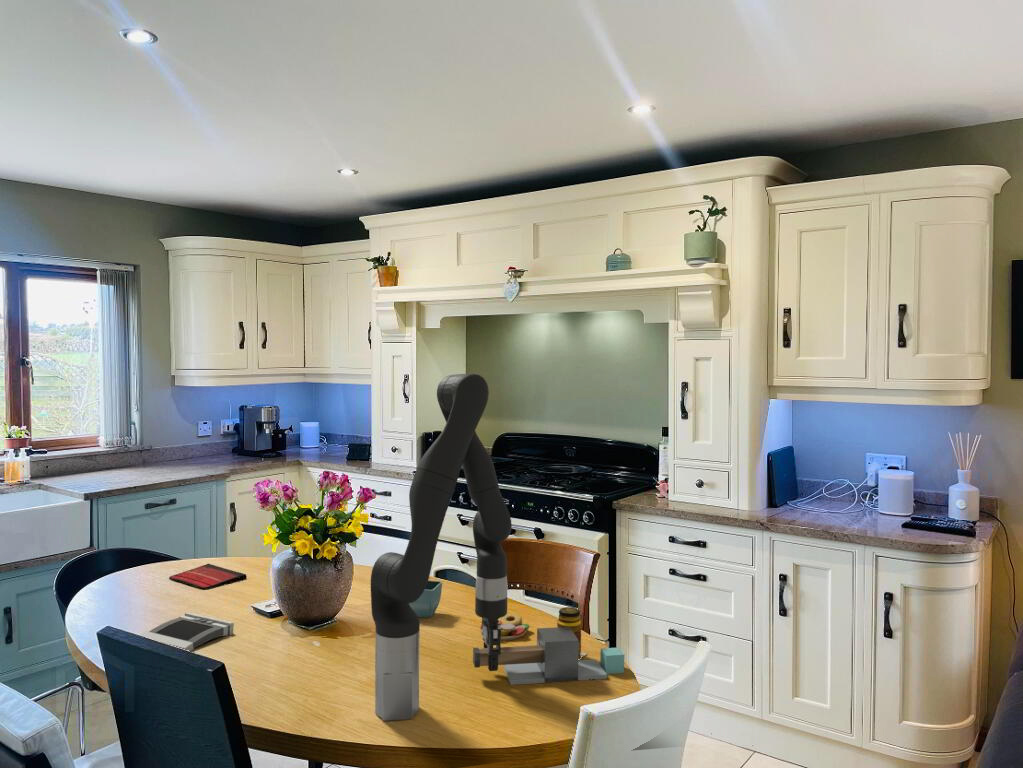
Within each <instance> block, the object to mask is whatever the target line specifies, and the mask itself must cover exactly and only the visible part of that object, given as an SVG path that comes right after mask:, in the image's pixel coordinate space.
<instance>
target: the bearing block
mask: <svg viewBox="0 0 1023 768" xmlns="http://www.w3.org/2000/svg"><path fill="white" fill-rule="evenodd" d="M536 645H541V647H542V648H543V662H542V663H537V665H538V666H539V668H540V670H541V672H542V674H543V676H544V678H545V680H546V681H545V684H546V683H549V682H548V681H549V679H550V678H551V679H550V681H551V682H550V683H561V682H562V681H563V682H575V681H574V680H576V679H575V678H576V676H577V677H578V654H579V640H578V639H577V637H576V636H575V634H574V633H573V632H572V630H571V629H570V627H557V626H556V627H537V629H536ZM560 677H561V678H560ZM562 677H565V678H564V679H562ZM573 677H574V678H573ZM556 678H557V679H556ZM569 678H570V679H569ZM571 678H572V679H573V680H572V679H571ZM566 679H567V680H566ZM557 680H559V681H558V682H557ZM564 680H565V681H564ZM570 680H572V681H570ZM577 680H578V678H577ZM552 681H553V682H552ZM555 681H556V682H555ZM563 682H562V683H563Z"/></svg>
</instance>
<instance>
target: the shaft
mask: <svg viewBox="0 0 1023 768" xmlns="http://www.w3.org/2000/svg"><path fill="white" fill-rule="evenodd" d="M493 649H496V647H493V648H492V650H493ZM500 651H501V653H500V655H498V666H504V665H509V664H527V663H542V662H543V648H542V647H541V645H537V644H536V645H519V646H503V647H502V646H501V650H500ZM472 663H473V665H474V666H473V667H474V668H476V669H477V668H481V667H488V648H484V647H483V648H482V647H481V648H480V647H476V646H475V647H472Z"/></svg>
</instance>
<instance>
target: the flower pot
mask: <svg viewBox="0 0 1023 768" xmlns="http://www.w3.org/2000/svg"><path fill="white" fill-rule="evenodd" d="M442 588H443V581H440V580H429V579H428V582H427V585H426V588H425V590H424V592H423V593H422V595H421V596H420V597H419V598H418V599H417V600H416V601H415V602H413V603H409V605H410V606H411V608H412V609H413V610H414V611H415V612H416V614H417V615H418V617H419V618H424V619H425V618H426V619H429V618H430V617H432V616H433V614H435V612H436V611H437V609H438V608H439V605H440V602H441V597H442V590H443V589H442Z"/></svg>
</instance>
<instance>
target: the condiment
mask: <svg viewBox="0 0 1023 768" xmlns="http://www.w3.org/2000/svg"><path fill="white" fill-rule="evenodd" d="M558 613H559V614H558V620H557V622H556V623H557V624H556V627H570V629H571V630H572V632H573V633H574V634H575V636H576V637H577V639H578V640H579V654H578V659H580V658H581V656H582V657H583V658H584V657H585V656H586V655H587V653H585V652H582V621H581V616H580V615H581V612H580V610H579V609H578V608H576V607H572V606H571V607H570V606H566V607H562V608H560V609H559V611H558Z"/></svg>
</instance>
